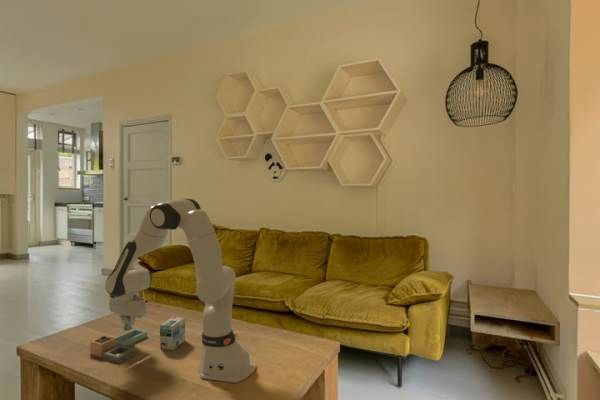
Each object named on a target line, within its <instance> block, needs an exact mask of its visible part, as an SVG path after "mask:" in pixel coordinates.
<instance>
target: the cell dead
mask: <svg viewBox="0 0 600 400" xmlns="http://www.w3.org/2000/svg"><path fill="white" fill-rule="evenodd" d="M107 336H108V335H103V336H100V337H99V343H104V342H106V341H108V337H107Z"/></svg>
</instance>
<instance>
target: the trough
mask: <svg viewBox="0 0 600 400" xmlns="http://www.w3.org/2000/svg"><path fill="white" fill-rule="evenodd" d="M114 338H116V346H118V345H121V346H125V347H129V346H131V345H133V344H135V343H137V342H139V341H141V340H143V339H146V338H148V331H146V330H142V329H138V328H134V329H133V328H132V329H131V330H128V331H127V332H124V333H121V334H119V335H117V336H115V337H114Z"/></svg>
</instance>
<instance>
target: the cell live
mask: <svg viewBox="0 0 600 400" xmlns="http://www.w3.org/2000/svg"><path fill="white" fill-rule="evenodd" d="M129 321H131V318H130V316H127V315H125V316H124V324H123V331H125V332H126V331H127V332H129V331H131V330H133V328H132V327H133V325H132V326H131V325H129Z"/></svg>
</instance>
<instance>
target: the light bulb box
mask: <svg viewBox="0 0 600 400" xmlns="http://www.w3.org/2000/svg"><path fill="white" fill-rule="evenodd" d="M184 342H186V317H179V316H172V317H170V318H169V319H167V320H166V321H164V322H163V323H161V324H159V347H160V349H161V350H170V351H173V350H175V349H176V348H177V347H179V346H180V345H181V344H183V343H184Z"/></svg>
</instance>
